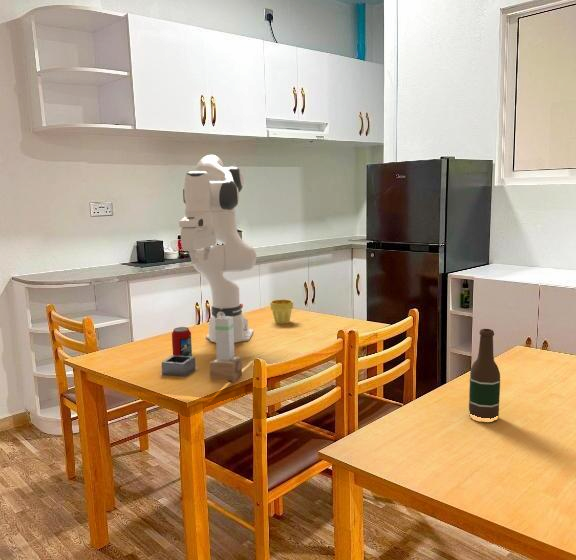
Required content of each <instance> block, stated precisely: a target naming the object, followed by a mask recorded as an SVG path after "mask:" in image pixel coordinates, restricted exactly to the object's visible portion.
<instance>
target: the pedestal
mask: <svg viewBox="0 0 576 560" xmlns="http://www.w3.org/2000/svg"><path fill="white" fill-rule="evenodd" d="M242 364H243V363H242V356H234V359H232V360H231V361H230V362H226V361H217V356H216V357H215V358H213V360H210V362H209V378H210V379H221V380H222V379H223V380H228V381H227V383H234V382H236V381H237V380H238V379H239V378H240V377H241V376H242V375H243V368H242V367H243V365H242Z"/></svg>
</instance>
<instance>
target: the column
mask: <svg viewBox="0 0 576 560" xmlns="http://www.w3.org/2000/svg"><path fill="white" fill-rule="evenodd" d="M215 325H216V326H215V330H216V343H215V345H216V346H215V347H216V357H217V361H226V362H230V361H231V360H232V359H234V357H235V343H234V329H233V327H234V323H233V316H219V317H217V318H216V319H215Z"/></svg>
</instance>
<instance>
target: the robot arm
mask: <svg viewBox="0 0 576 560" xmlns="http://www.w3.org/2000/svg"><path fill="white" fill-rule="evenodd" d="M244 180H245V179H244V175H243V173H242V171H241V169H240V168H239V167H236V166H229V167H225V166H224V162H223V161H222V159H221V158H220V157H219V156H217V155H215V154H207V155H205V156H203V157H202V158H201V159H200V160H199V161H198V162H197V164H196V166H195V169H194V170H193V171H192V170H191V171H188V172H186V173H185V176H184V185H183V187H184V188H183V189H182V197H183V198H182V199H183V203H184V205H185V211H184V216H183V217H182V218H181V219H180V220H179V223H178V225H179V228H181V229H180V244H181V249H182V251H184V252H188V254H189V257H190V259H191V260H190V261H191V262H190V263H191V264H192V266H193V268H194V269H195V270H196V271H197V272H198V273H200V274H201V275H202V276H203V277H204V278H205V279H206V281H207V282H208V284H209V287H210V290H211V291H210V293H211V301H212V305H211V310H210V311H211V315H212V316H211V317H210V318H209V319H208V334H207V335H205V339H207V340H209V341H210V342H211V343H215V344H216V330H215V326H216V325H215V319H216V318H217V317H219V316H233V323H234V327H233V329H234V344H235V343H239V342H247V341H250V339H251V337H252V336H253V334H254V329H252V328H249V323H248V319H247V318H246V317H245V316H244V314H242V313H243V310H242V309H243V307H244V304H243V303H240V287H239V286H238V284H237V283H235V281H232V280H231V279H228V278H226V277H225V276H224V275H223V274H224V273H231V272H232V273H233V272H235V273H236V272H245V271H249V270H252V269H253V268H254V267H255V266H256V263H257V253H256V251H255V249H254V248H253V247H252V245H250V244H248V243H246V241H244V240H243V239H242V238H241V236H240V234H239V233H238V228H237V218H236V210H235V208H236V207H237V206H238V205H239V201H240V192H241V191H242V189H243V185H244V183H245V182H244ZM217 242H219V243H221V244H216V243H217Z"/></svg>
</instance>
